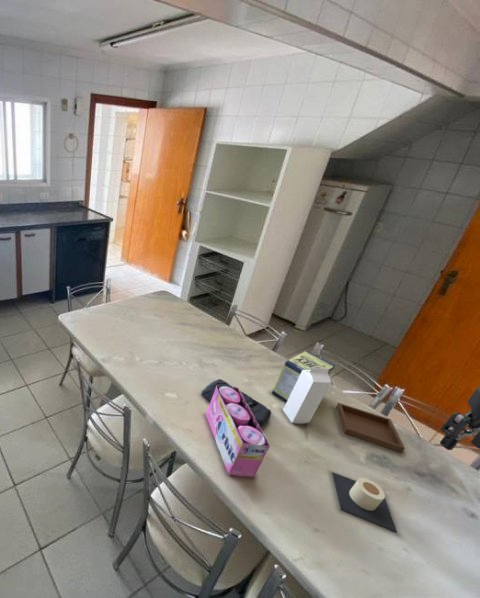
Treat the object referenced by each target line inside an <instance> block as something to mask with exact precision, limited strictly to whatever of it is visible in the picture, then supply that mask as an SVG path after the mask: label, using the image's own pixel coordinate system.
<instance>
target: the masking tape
mask: <svg viewBox="0 0 480 598" xmlns="http://www.w3.org/2000/svg"><path fill="white" fill-rule="evenodd" d="M355 481H356V483H355V484H354V486H353V487H352V488H351V490H350V491H349V494H350V497H351V499H352V500H353V501H354V502H355V503H356V504H357V505H358V506H360V507H362V508H363V509H366V510H369V511H373V510H375V509H376V508H377V507H378V505H379V504H380V503H381V502H382V501H383V499H384V498H385V499H386V494H385V492H384V490H383V489H382V488H381V486H379V484H377V483H376V482H375V481H373V480H371V479H368V478H364V477H360V478H358V479H357V480H355Z"/></svg>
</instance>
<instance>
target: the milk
mask: <svg viewBox="0 0 480 598" xmlns="http://www.w3.org/2000/svg"><path fill="white" fill-rule="evenodd" d="M328 371H329V369H324V368H312V369H311V370H302V372H301V374H300V376H299V378H298V380H297V382H296V384H295V386H294V388H293V390H292V392H291V394H290V396H289V399H288V401H287V403H286V402H285V405H284V406H283V409H282V412H283V413H284V414H285V416H286V417H287V419H288V420H289V421H290V422H291V424H301V425H307V424H308V423H310V422H311V420H312V418H313V417H314V415H315V413H316V412H317V409H318V407H319V406H320V405H321V402H322V401H323V398H324V397H325V396H326V393H327V391H328V390H329V388H330V386H331V385H332V381H331V378H330V376H329V375H328Z"/></svg>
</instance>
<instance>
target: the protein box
mask: <svg viewBox="0 0 480 598" xmlns="http://www.w3.org/2000/svg"><path fill="white" fill-rule="evenodd" d="M335 367H336V365H335V364H333V363H331V362H329V361H327V360H325V359H323V358H321V357H320V356H317V355H316V354H314V353H312V352H310V351H309V350H304V351H303V352H301V353H299V354H297V355H295V356H293V357H291V358H290V359H288V360H286V361H285V362H284V365H283V367H282V369H281V371H280V373H279V376H278V378H277V380H276V383H275V385H274V387H273V389H272V392H271V394H272V395H274V396H275V397H277V398H279V399H280V400H281V401H283V402H285V404H286V403H287V401H288V399H289V396H290V394H291V392H292V390H293V388H294V386H295V384H296V382H297V380H298V378H299V376H300V374H301V372H302V370H311V369H312V368H324V369H329V371H328V375H329V377H330V376H331V375H332V373H333V371H334V368H335Z"/></svg>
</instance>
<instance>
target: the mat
mask: <svg viewBox="0 0 480 598" xmlns="http://www.w3.org/2000/svg"><path fill="white" fill-rule="evenodd" d="M331 474H332V477H333V482H334V486H335V490H336V494H337V495H336V496H337V498H338V503H339V507H340V510H341V511H343V512H346V513H348V514H351V515H353V516H355V517H358V518H360V519H363V520H365V521H368V522H369V523H372V524H374V525H377V526H379V527H382V528H384V529H387V530H388V531H389V530H390V531H391V532H394V533H397V532H398V530H397V527H396V524H395V523H394V520H393V517H392V514H391V512H390V509H389V505H388V502H387V500H386V497H385V498H384V499H383V501H382V502H381V503H380V504H379V505H378V507H377V508H376V509H375V510H373V511H369V510H366V509H363V508H362V507H360V506H358V505H357V504H356V503H355V502H354V501H353V500H352V499H351V497H350V494H349V491H350V490H351V488H352V487H353V486H354V484H355V483H356V481H357V480H354V479H352V478H349V477H346V476H343V475H341V474H339V473H336V472H332V473H331Z"/></svg>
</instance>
